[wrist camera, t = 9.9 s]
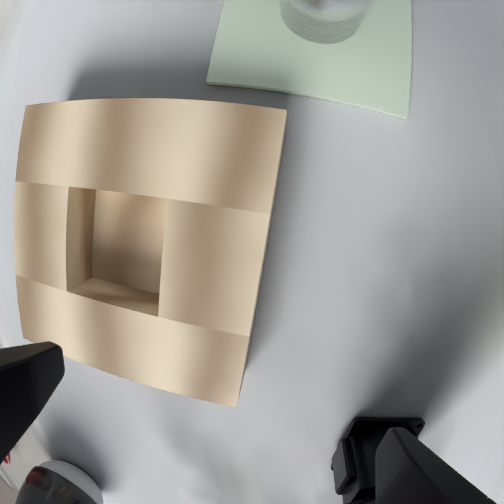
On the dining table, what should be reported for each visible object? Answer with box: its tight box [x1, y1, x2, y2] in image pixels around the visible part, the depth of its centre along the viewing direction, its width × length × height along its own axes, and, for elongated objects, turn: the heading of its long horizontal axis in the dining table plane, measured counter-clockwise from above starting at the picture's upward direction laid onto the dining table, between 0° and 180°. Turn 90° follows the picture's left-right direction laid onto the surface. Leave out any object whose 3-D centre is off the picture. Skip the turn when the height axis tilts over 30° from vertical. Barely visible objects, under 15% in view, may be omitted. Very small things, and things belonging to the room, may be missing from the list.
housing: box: [14, 98, 287, 407], centre depth 18 cm, size 16×16×4 cm
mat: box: [206, 0, 412, 119], centre depth 15 cm, size 12×12×1 cm
